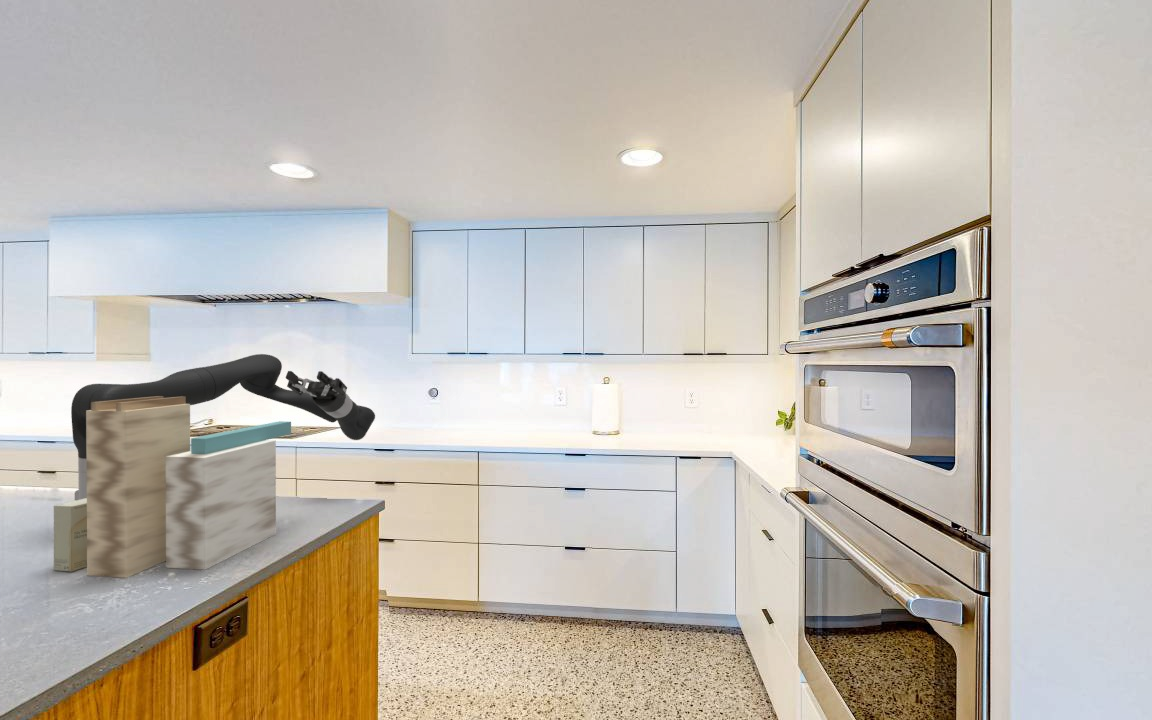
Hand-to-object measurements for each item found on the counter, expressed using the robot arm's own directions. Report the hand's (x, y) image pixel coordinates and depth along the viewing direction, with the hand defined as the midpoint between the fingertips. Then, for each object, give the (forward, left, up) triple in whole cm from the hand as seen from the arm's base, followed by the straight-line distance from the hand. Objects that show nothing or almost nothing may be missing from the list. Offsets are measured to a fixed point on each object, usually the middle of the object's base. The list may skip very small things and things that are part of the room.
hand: (303, 374), depth 141 cm
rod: (+2, -23, -14) cm, 27 cm away
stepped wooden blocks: (-3, -32, -35) cm, 47 cm away
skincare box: (-19, -40, -35) cm, 57 cm away
